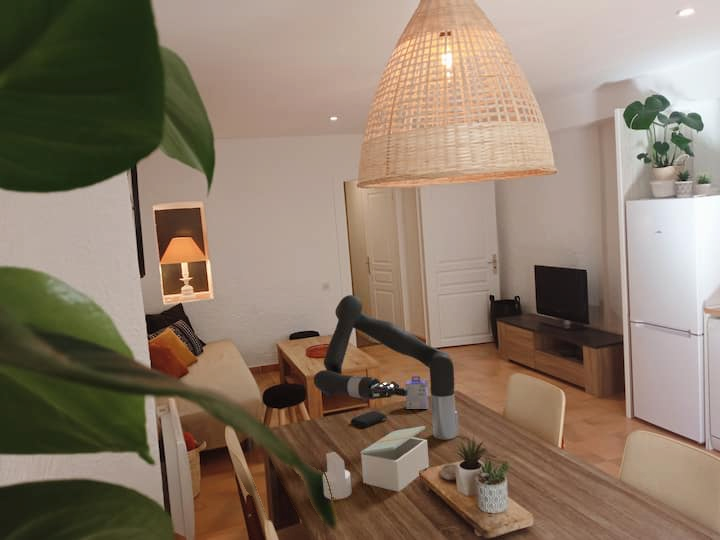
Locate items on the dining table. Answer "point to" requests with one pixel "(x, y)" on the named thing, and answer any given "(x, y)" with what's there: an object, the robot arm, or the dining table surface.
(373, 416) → the carrying case or bag
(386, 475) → the storage box
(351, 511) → the dining table surface
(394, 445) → the lid
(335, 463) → the cylinder with rectangular tab
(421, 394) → the ink cartridge box
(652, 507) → the dining table surface
